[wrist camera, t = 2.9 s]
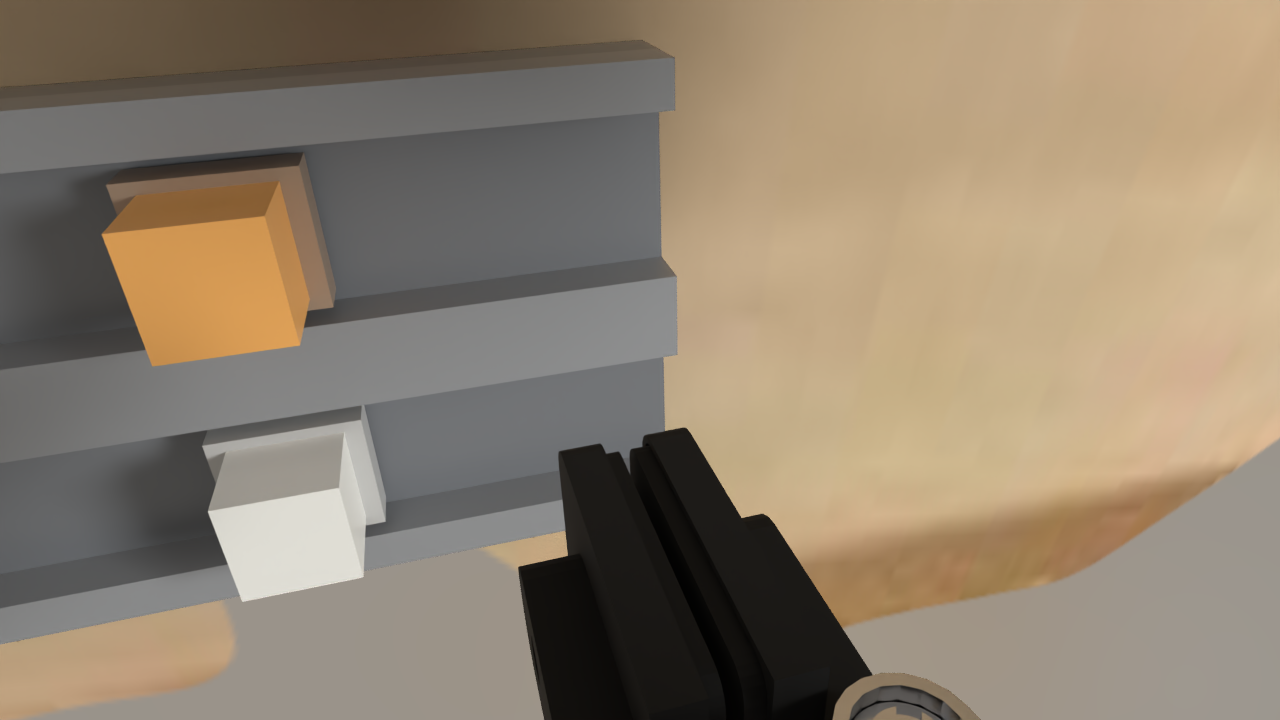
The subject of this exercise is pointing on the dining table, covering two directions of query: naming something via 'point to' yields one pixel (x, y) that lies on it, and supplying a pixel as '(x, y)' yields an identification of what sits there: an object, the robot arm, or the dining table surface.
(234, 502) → the tab white
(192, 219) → the tab orange
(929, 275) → the dining table surface
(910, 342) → the dining table surface
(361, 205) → the switch panel
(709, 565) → the robot arm
